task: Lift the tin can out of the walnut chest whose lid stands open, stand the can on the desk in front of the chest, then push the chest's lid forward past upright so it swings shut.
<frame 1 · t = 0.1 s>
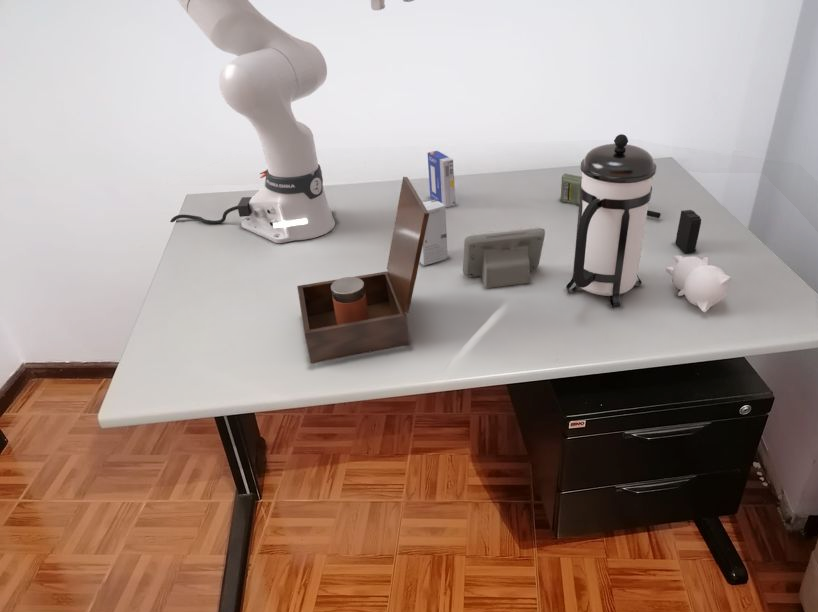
hand: (394, 5, 109), 48 cm above the table, tool pointing down, fingers open, 8 cm apart
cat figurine: (698, 298, 121), on the table
digital clock: (502, 276, 129), on the table
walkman: (442, 202, 160), on the table
cosmetic box: (431, 259, 136), on the table
ink cartridge: (684, 249, 137), on the table
lid: (405, 243, 107), point 16 cm above the table, hinge at 105.0°
chest: (354, 332, 114), on the table
can: (354, 328, 114), point 1 cm above the table, touching chest
coffee press: (602, 292, 124), on the table
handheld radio: (608, 210, 154), on the table
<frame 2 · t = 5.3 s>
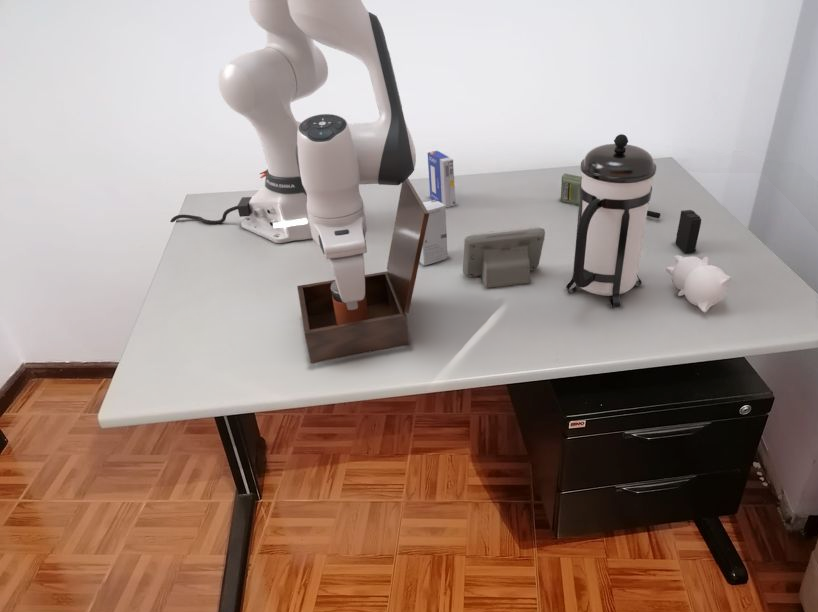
hand: (349, 297, 110), 7 cm above the table, tool pointing down, fingers closed on can, 6 cm apart
can: (354, 328, 114), point 1 cm above the table, touching chest, gripper
everything else where it was.
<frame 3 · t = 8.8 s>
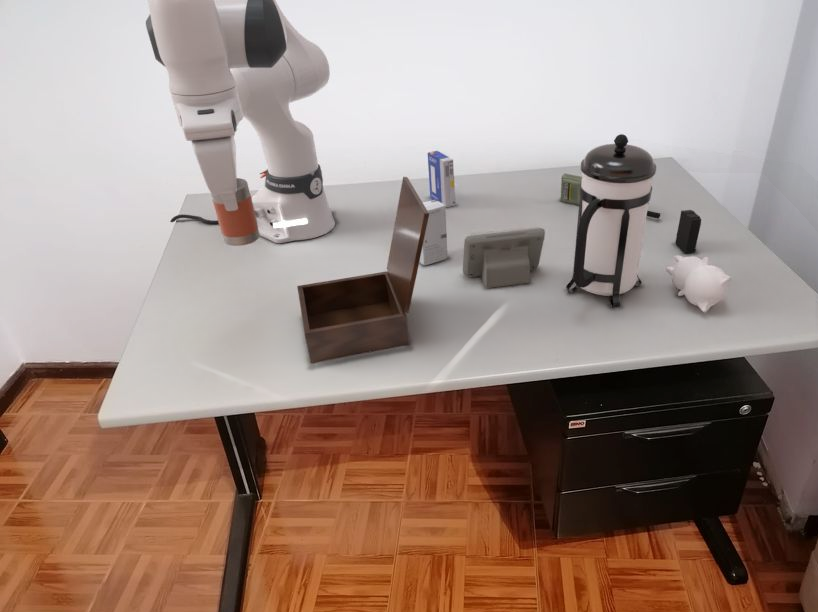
hand: (232, 200, 99), 26 cm above the table, tool pointing down, fingers closed on can, 6 cm apart
can: (242, 238, 103), point 19 cm above the table, touching gripper
everything else where it was.
when the fingers open (6 cm above the table, at t = 12.6 s): can stays where it is, on the table.
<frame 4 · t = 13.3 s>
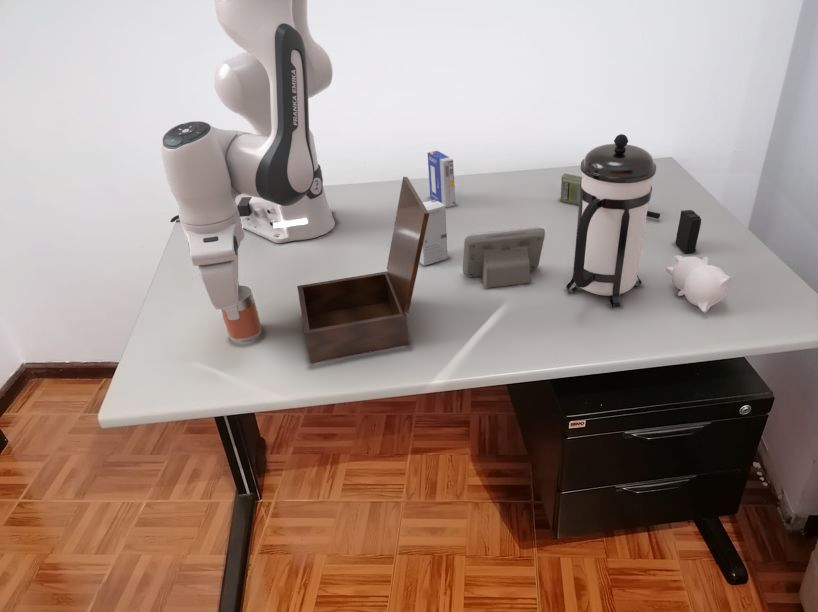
hand: (234, 303, 110), 7 cm above the table, tool pointing down, fingers open, 8 cm apart
can: (246, 336, 114), on the table
everything else where it was.
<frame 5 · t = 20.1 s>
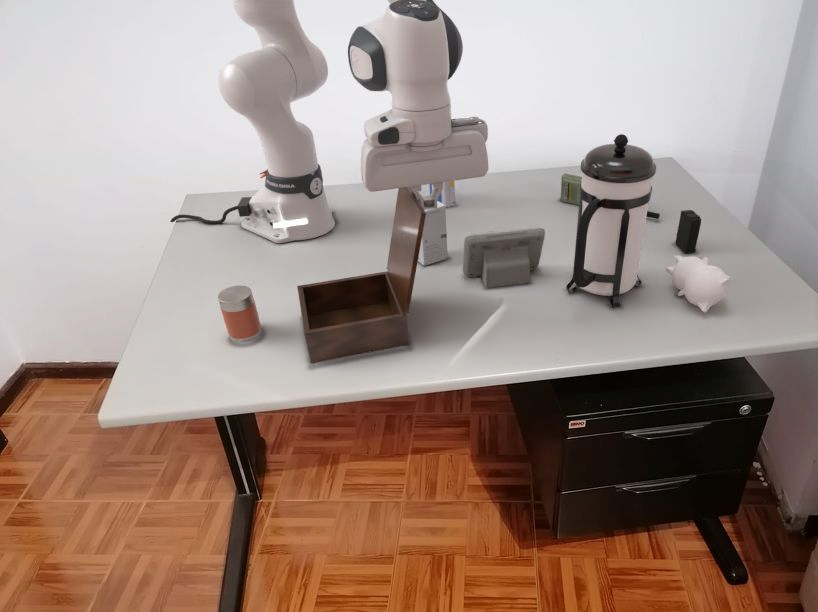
hand: (428, 208, 105), 22 cm above the table, tool pointing down, fingers closed
lid: (404, 243, 107), point 16 cm above the table, hinge at 103.3°, touching gripper
everything else where it was.
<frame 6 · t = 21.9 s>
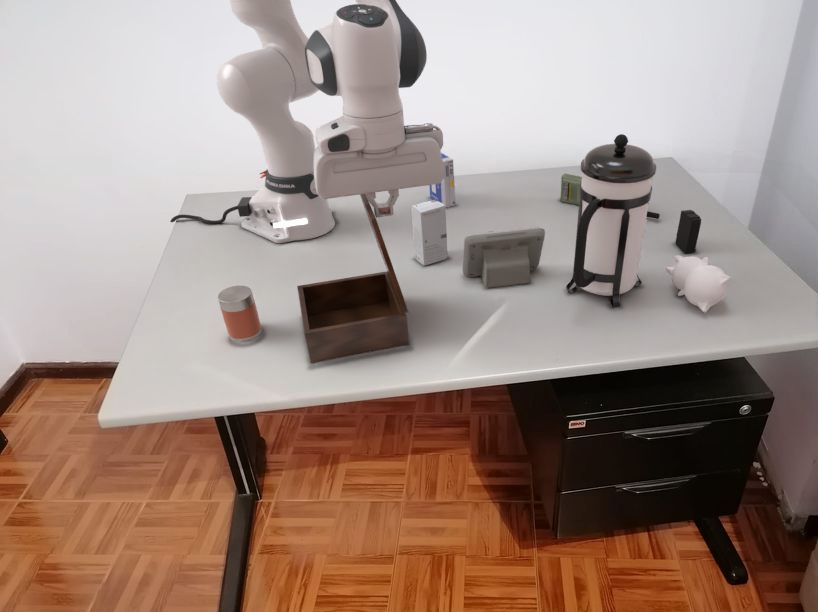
hand: (384, 215, 103), 22 cm above the table, tool pointing down, fingers closed
lid: (381, 246, 106), point 16 cm above the table, hinge at 78.3°, touching gripper
everything else where it was.
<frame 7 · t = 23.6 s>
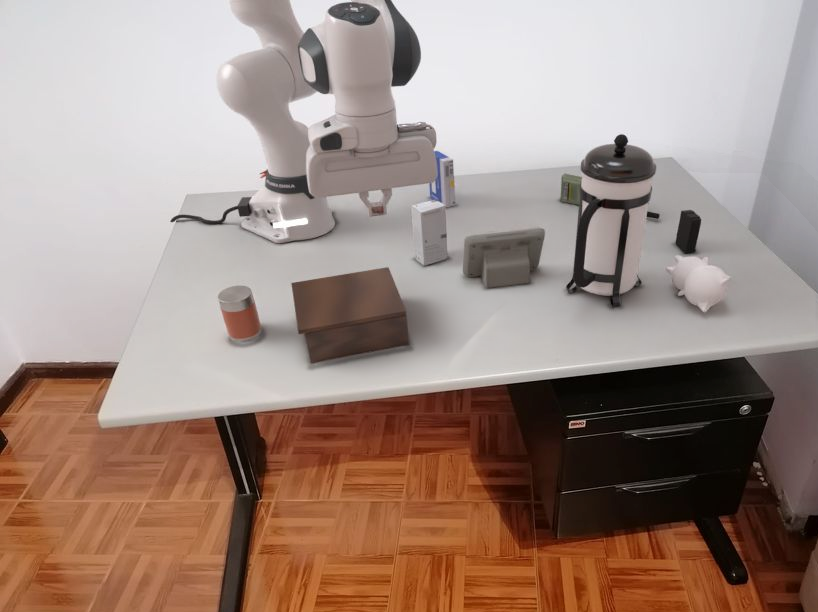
hand: (377, 214, 103), 22 cm above the table, tool pointing down, fingers closed
lid: (346, 298, 110), point 7 cm above the table, hinge at -0.1°
everything else where it was.
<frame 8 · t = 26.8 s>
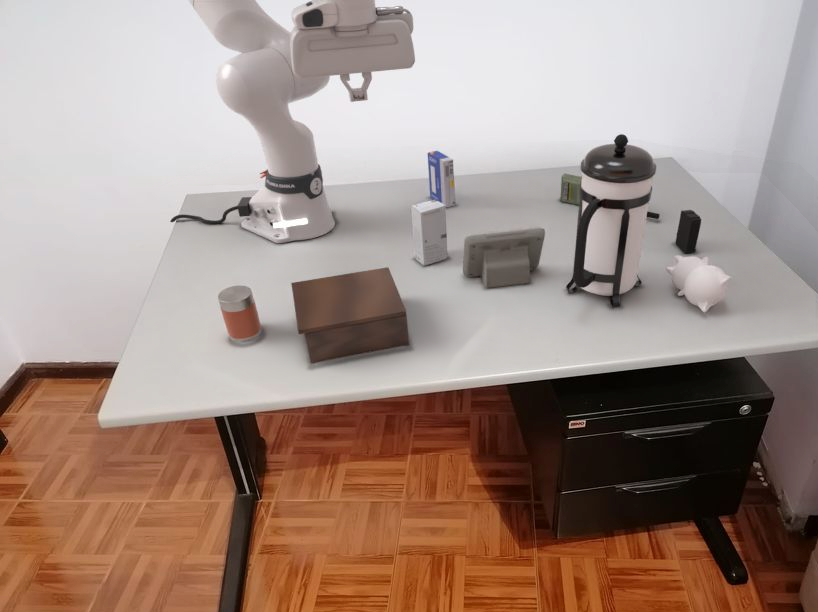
hand: (358, 100, 109), 35 cm above the table, tool pointing down, fingers closed
nothing on the table moved.
at the end: can inside the target area (0.3 cm from its centre), on the table; can tilted 0°; lid at +0° (first picture: +105°) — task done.
